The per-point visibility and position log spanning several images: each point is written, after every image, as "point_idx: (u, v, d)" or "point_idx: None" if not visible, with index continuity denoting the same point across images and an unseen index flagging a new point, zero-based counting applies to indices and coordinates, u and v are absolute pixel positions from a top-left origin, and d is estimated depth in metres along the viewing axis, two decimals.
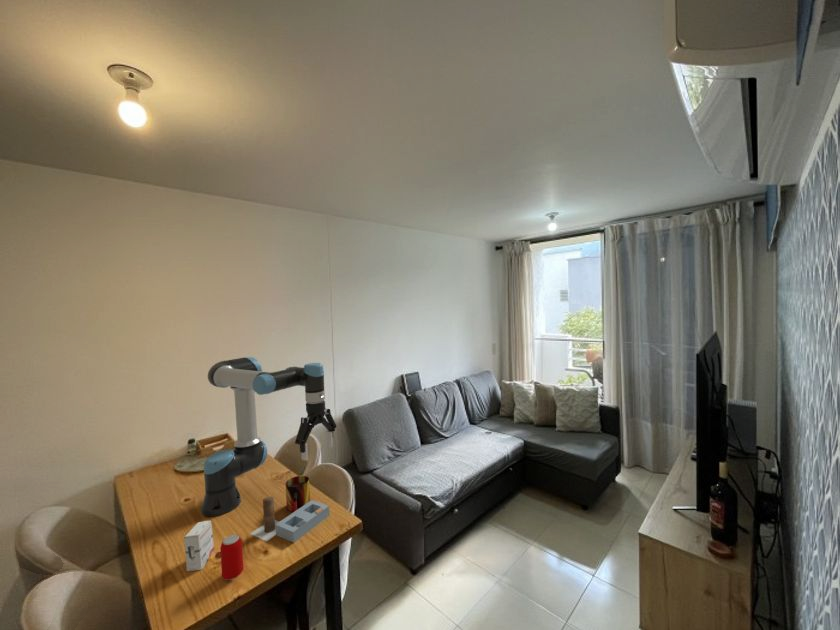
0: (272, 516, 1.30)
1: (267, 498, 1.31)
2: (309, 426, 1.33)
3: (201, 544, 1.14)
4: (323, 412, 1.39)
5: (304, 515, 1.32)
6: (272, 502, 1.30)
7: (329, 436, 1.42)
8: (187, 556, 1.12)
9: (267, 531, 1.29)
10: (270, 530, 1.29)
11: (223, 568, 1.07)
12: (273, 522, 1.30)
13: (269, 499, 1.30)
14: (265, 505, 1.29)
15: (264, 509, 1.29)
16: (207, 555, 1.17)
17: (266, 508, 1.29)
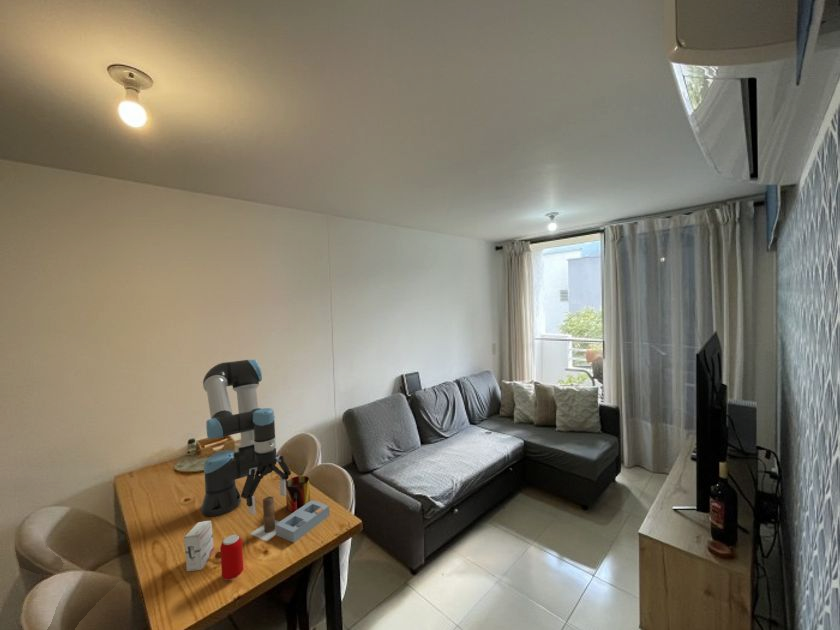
0: (272, 516, 1.30)
1: (267, 498, 1.31)
2: (257, 477, 1.26)
3: (201, 544, 1.14)
4: (274, 460, 1.32)
5: (304, 515, 1.32)
6: (272, 502, 1.30)
7: (282, 484, 1.36)
8: (187, 556, 1.12)
9: (267, 531, 1.29)
10: (270, 530, 1.29)
11: (223, 568, 1.07)
12: (273, 522, 1.30)
13: (269, 499, 1.30)
14: (265, 505, 1.29)
15: (264, 509, 1.29)
16: (207, 555, 1.17)
17: (266, 508, 1.29)
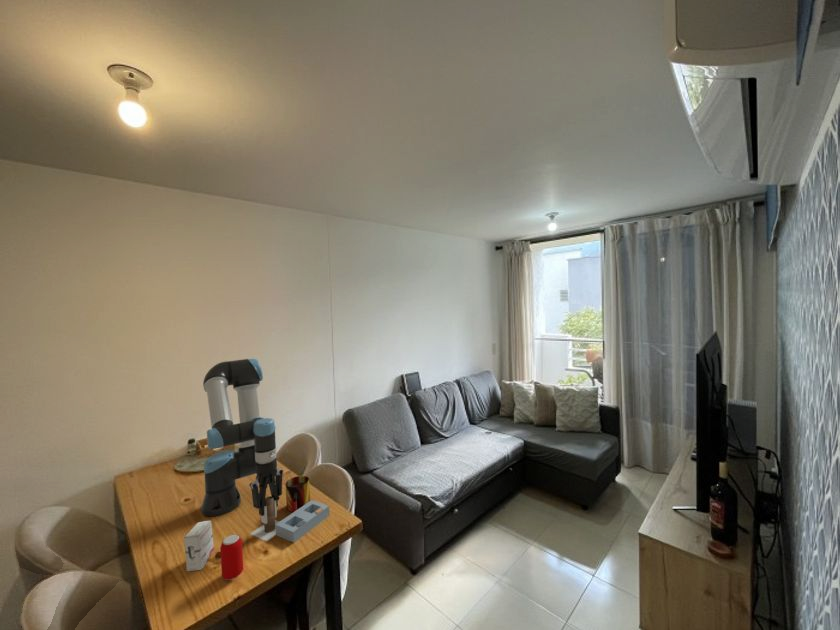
0: (272, 516, 1.30)
1: (267, 498, 1.31)
2: (262, 488, 1.28)
3: (201, 544, 1.14)
4: (275, 470, 1.33)
5: (304, 515, 1.32)
6: (272, 502, 1.30)
7: None
8: (187, 556, 1.12)
9: (267, 531, 1.29)
10: (270, 530, 1.29)
11: (223, 568, 1.07)
12: (273, 522, 1.30)
13: (269, 499, 1.30)
14: (265, 505, 1.29)
15: None
16: (207, 555, 1.17)
17: None
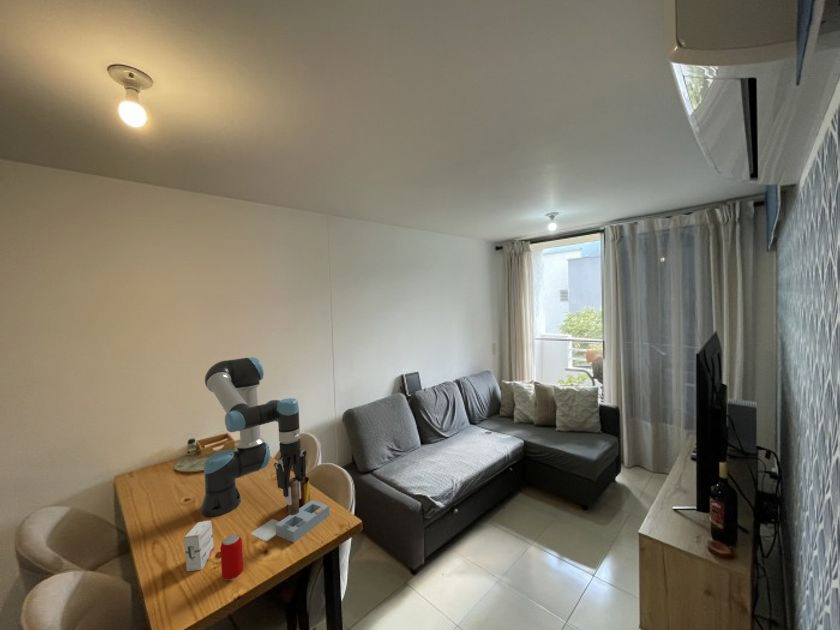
0: (296, 498, 1.28)
1: (291, 480, 1.29)
2: (286, 469, 1.26)
3: (201, 544, 1.14)
4: (299, 451, 1.31)
5: (304, 515, 1.32)
6: (296, 484, 1.28)
7: None
8: (187, 556, 1.12)
9: (292, 514, 1.27)
10: (295, 513, 1.27)
11: (223, 568, 1.07)
12: (297, 505, 1.28)
13: (293, 481, 1.28)
14: None
15: None
16: (207, 555, 1.17)
17: (291, 490, 1.27)
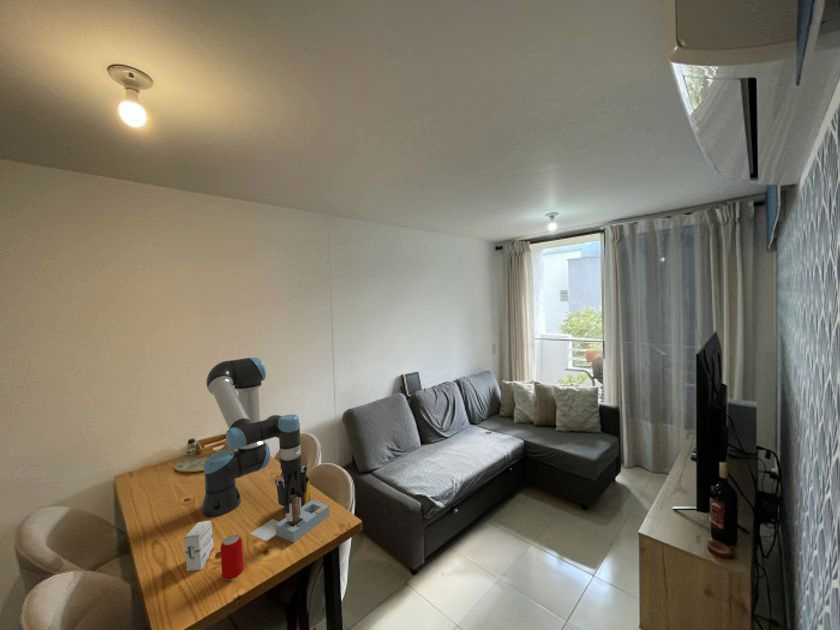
0: (297, 515, 1.28)
1: (292, 496, 1.29)
2: (287, 485, 1.26)
3: (201, 544, 1.14)
4: (300, 467, 1.31)
5: (304, 515, 1.32)
6: (297, 500, 1.28)
7: None
8: (187, 556, 1.12)
9: None
10: None
11: (223, 568, 1.07)
12: (298, 521, 1.28)
13: (294, 497, 1.28)
14: None
15: None
16: (207, 555, 1.17)
17: (292, 507, 1.27)
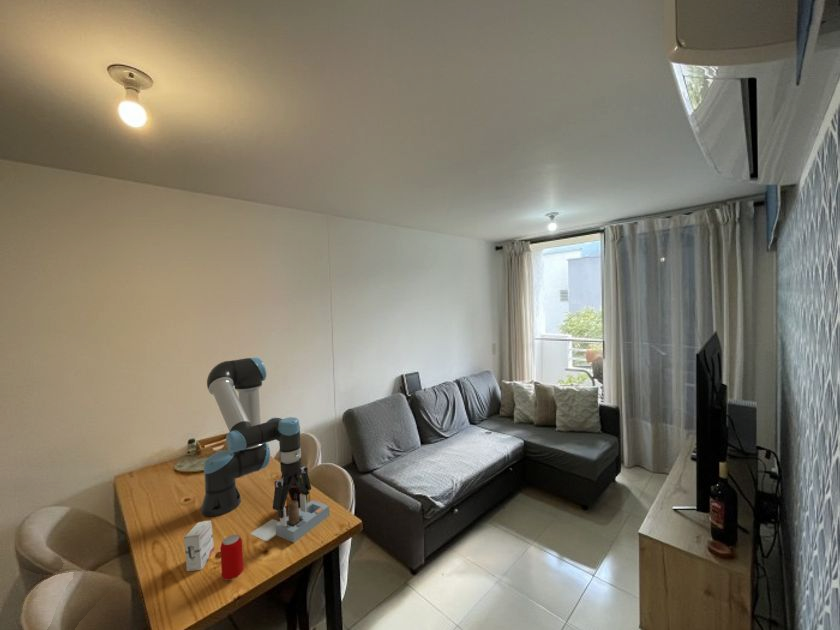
0: (297, 520, 1.28)
1: (292, 502, 1.29)
2: (285, 488, 1.25)
3: (201, 544, 1.14)
4: (300, 470, 1.31)
5: (304, 515, 1.32)
6: (297, 506, 1.28)
7: (303, 500, 1.32)
8: (187, 556, 1.12)
9: None
10: None
11: (223, 568, 1.07)
12: None
13: (294, 503, 1.28)
14: (290, 509, 1.27)
15: (289, 513, 1.27)
16: (207, 555, 1.17)
17: (291, 513, 1.27)
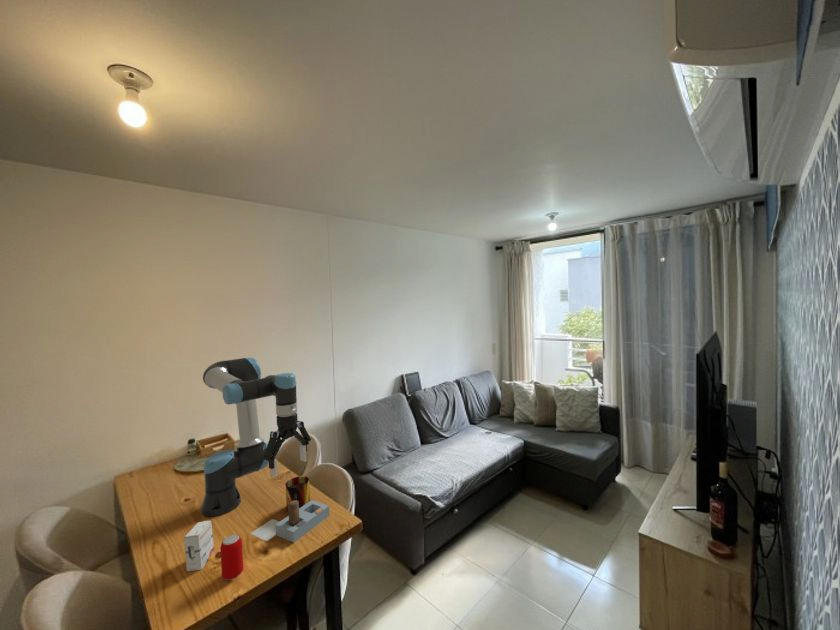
0: (297, 520, 1.28)
1: (292, 502, 1.29)
2: (279, 440, 1.26)
3: (201, 544, 1.14)
4: (295, 425, 1.32)
5: (304, 515, 1.32)
6: (297, 506, 1.28)
7: (302, 450, 1.35)
8: (187, 556, 1.12)
9: None
10: None
11: (223, 568, 1.07)
12: None
13: (294, 503, 1.29)
14: (290, 509, 1.27)
15: (290, 513, 1.27)
16: (207, 555, 1.17)
17: (292, 513, 1.27)
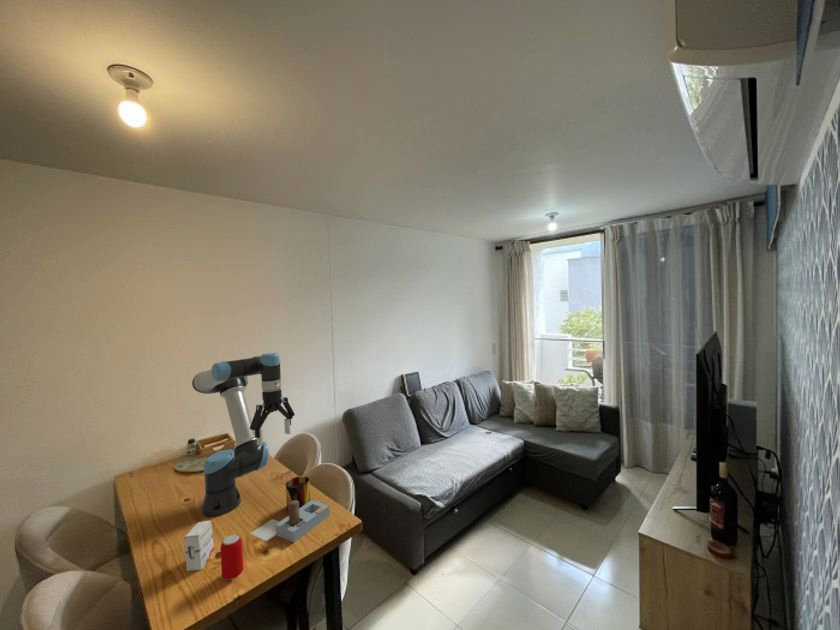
0: (298, 520, 1.28)
1: (292, 502, 1.29)
2: (264, 413, 1.39)
3: (201, 544, 1.14)
4: (280, 400, 1.45)
5: (304, 515, 1.32)
6: (298, 506, 1.29)
7: (287, 423, 1.48)
8: (187, 556, 1.12)
9: None
10: None
11: (223, 568, 1.07)
12: None
13: (294, 503, 1.29)
14: (291, 509, 1.27)
15: (290, 513, 1.27)
16: (207, 555, 1.17)
17: (292, 512, 1.27)
